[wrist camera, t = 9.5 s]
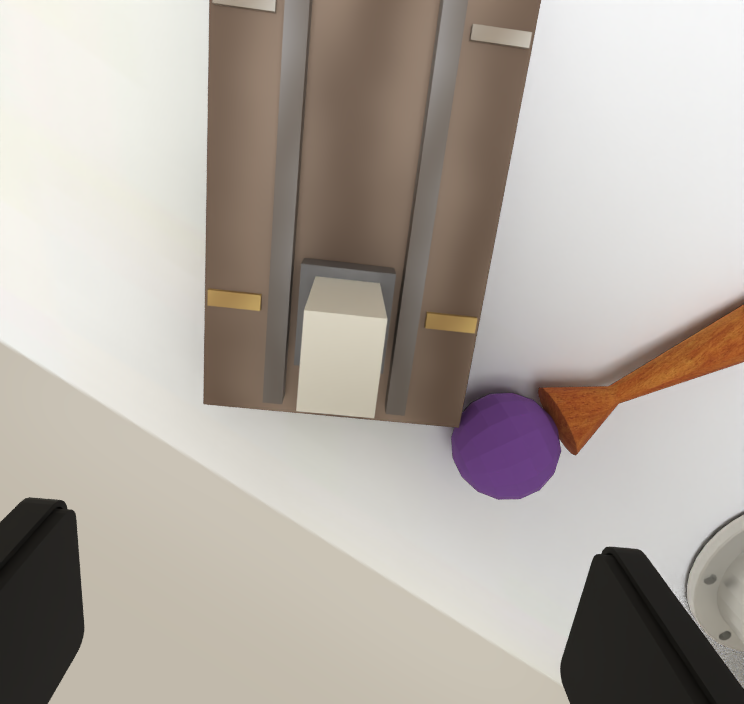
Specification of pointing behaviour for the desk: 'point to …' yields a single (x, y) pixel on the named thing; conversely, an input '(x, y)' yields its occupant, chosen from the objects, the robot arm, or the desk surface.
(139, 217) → the desk surface
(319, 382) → the fader tab
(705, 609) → the robot arm
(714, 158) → the desk surface
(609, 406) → the kendama
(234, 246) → the brown slider board
